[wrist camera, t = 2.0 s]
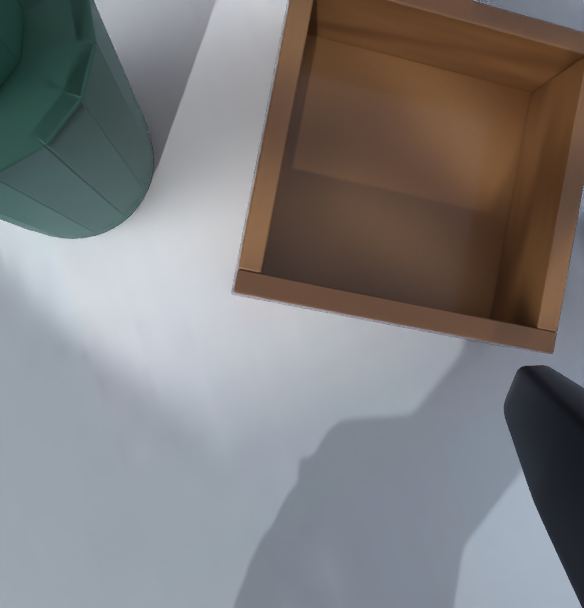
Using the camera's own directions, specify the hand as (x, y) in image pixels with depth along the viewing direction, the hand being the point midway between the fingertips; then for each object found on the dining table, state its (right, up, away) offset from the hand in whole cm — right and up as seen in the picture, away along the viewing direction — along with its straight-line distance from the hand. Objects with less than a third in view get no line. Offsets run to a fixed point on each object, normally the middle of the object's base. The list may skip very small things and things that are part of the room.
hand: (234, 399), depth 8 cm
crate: (+5, +6, +14) cm, 17 cm away
